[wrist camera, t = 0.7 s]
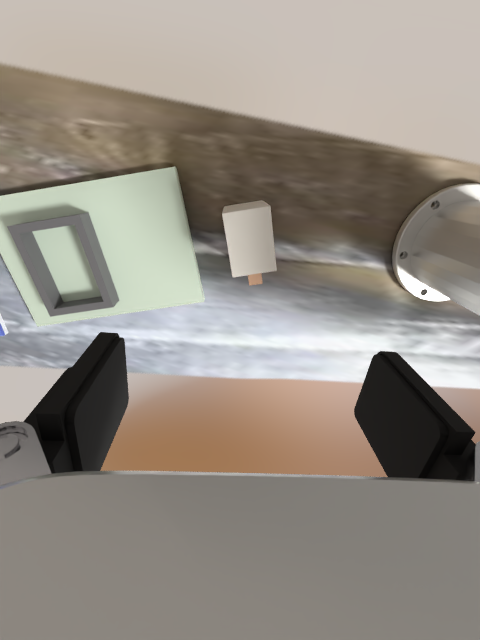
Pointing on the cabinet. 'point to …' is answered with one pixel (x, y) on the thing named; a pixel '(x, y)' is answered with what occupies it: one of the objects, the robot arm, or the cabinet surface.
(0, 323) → the hard drive
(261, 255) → the plug
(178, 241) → the socket board
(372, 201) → the cabinet surface
